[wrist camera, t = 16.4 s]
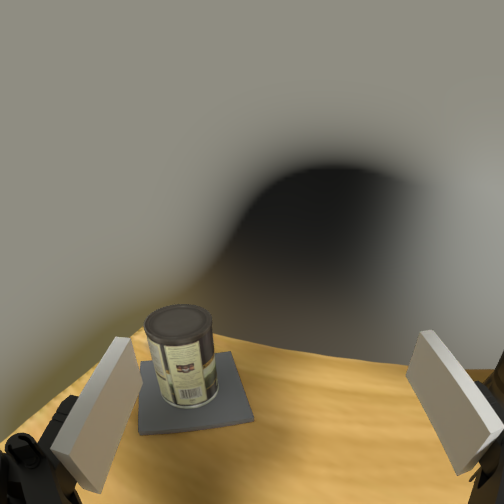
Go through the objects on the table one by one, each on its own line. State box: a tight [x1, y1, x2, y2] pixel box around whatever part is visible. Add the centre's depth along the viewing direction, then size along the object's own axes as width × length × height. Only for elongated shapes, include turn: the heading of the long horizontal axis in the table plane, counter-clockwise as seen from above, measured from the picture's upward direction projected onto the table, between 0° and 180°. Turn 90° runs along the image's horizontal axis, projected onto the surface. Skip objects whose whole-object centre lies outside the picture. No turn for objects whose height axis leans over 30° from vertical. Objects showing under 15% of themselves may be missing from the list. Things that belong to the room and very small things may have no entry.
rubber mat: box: [138, 351, 254, 435], centre depth 49 cm, size 18×18×1 cm
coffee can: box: [144, 304, 219, 409], centre depth 46 cm, size 10×10×14 cm
